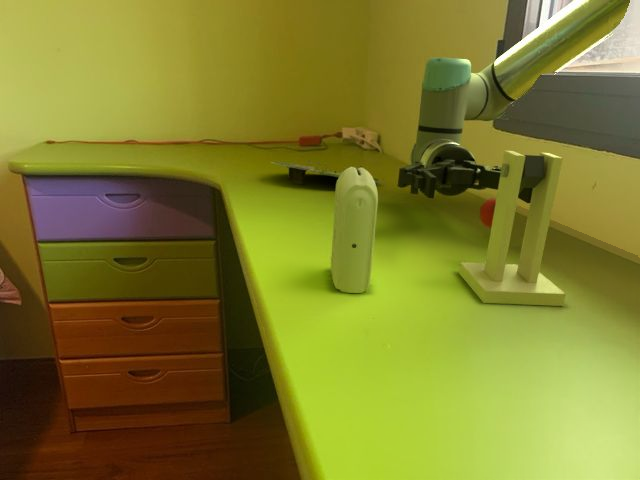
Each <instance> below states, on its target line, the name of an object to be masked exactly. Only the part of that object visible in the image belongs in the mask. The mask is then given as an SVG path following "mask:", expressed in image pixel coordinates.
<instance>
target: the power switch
mask: <svg viewBox="0 0 640 480" xmlns="http://www.w3.org/2000/svg"><path fill="white" fill-rule="evenodd" d="M524 155H525V154H522V153H518V152H517V151H514V150H504V151H503V157H502V164H501V174H500V180H499V186H498V190H497V193H496V197H495V198H496V204H495V210H494V215H493V221H492V227H491V228H490V234H489V240H488V246H487V251H486V257H485V262H470V261H469V262H468V261H467V262H466V261H460V263H459V267H458V274H459V276H461V278H462V279H463V280H464V282H466V284H467V285H468V286H469V287H470V289H471V290H472V291H473V292H474V294H475V295H476V296H477V297H478V298H479V299H480V301H481V302H482V303H483V304H501V305H502V304H504V305H525V306H547V307H548V306H549V307H551V306H552V307H556V306H557V307H563V306H564V304H565V300H566V296H567V295H566V292H564V291H563V290H562V289H561V288H559V287H558V286H557V285H556V284H554V283H553V282H552V281H551V280H549V279H548V278H547V277H546V276H544V275H543V274H542V273H541V272H540V270H541V265H542V259H543V255H544V250H545V246H546V240H547V235H548V230H549V227H550V221H551V216H552V212H553V207H554V202H555V198H556V192H557V188H558V182H559V178H560V173H561V170H562V169H561V168H562V164H563V159H564V158H563V157H561V156H558V155H555V154H552V153H550V152H539V155H538V156H544V178H543V180H542V181H541V182H540V183H539V184H538V185H537V186H536V187H535V188H533V191H532V197H531V202H530V203H529V207H528V212H527V218H526V223H525V227H524V233H523V234H524V235H523V238H522V245H521V249H520V254H519V258H518V263H517V264H513V263H507V258H508V253H509V247H510V242H511V238H512V237H511V235H512V231H513V227H514V220H515V215H516V209H517V205H518V200H519V198H518V194H519V189H520V183H521V178H522V172H523V167H524V161H525V156H524Z"/></svg>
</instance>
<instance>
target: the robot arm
mask: <svg viewBox="0 0 640 480" xmlns="http://www.w3.org/2000/svg"><path fill="white" fill-rule="evenodd" d="M629 3H630V0H572V1H571V2H570V3H569V4H568V5H567V6H565V7H564V8H562V9H561V10H559V11H558V12H557V13H555V15H553V16H552V17H551V18H550V19H548V20H547V21H545V22H544V23H543V24H541V25H540V26H539V27H538V28H536V29H535V30H534V31H532V32H530V34H528V35H526V36H525V37H524V38H523V39H522V40H521V41H519V42H518V43H516V44H515V45H514V46H512V47H511V48H510V49H508V50H507V51H506V52H504V53H503V54H502V55H500V56H499V57H498V58H497V59H496V60H494V61H493V62H491V63H490V64H489V65H488V66H486V67H485V68H483V69H482V70H481V71H479V72H472V63H471V61H470V60H469V59H465V58H455V57H436V56H435V57H434V56H433V57H430V58H429V59H428V60H427V61H426V63H425V68H424V73H423V79H422V81H421V95H420V102H419V103H420V105H419V114H418V125H417V130H416V140H415V143H414V145H413V146H412V148H411V151H410V157H409V159H410V164H409V165H405V166H402V167H400V168H399V169H398V178H397V187H398V188H401V189H404V188H407V187H409V186H410V191H409V192H410V193H409V194H410V195H419V191H420V192H421V194H423V195H424V196H425V197H426V198H427V199H433V200H434V199H435V191H436V192H437V193H438V194H440V195H442V196H446V197H455V196H459V195H461V194H463V193H465V192H466V191H468V190H469V189H471V190H472V189H473V190H478V191H482V190H486V189H490V190H491V189H492V190H497V191H498V186H499V180H500V174H501V167H502V166H501V167H500V166H499V165H494V166H492V167H491V168H490V166H489V165H486V164H480V163H477V161H476V159H475V157H474V155H473V153H472V152H471V151H470V150H469V149H468V148H466V147H465V146H462V145H461V141H462V134H463V129H464V122H465V121H482V122H491V121H494V120H497V119H500V117H501V116H502V115H503V114H504V113H505V110H506V108H507V106H509V105H510V104H512V103H513V102H514V103H515V102H516V101H517V100H519V99H520V98H521V96H522V95H523V94H524V95H526V94H527V93H528V92H527V91H528V90H529V89H530V88H531V87H532V86H533V84H534V83H535V81H536V80H537V78H538V77H539V76H540V75H542V74H546V73H553V72H557V73H558V72H559V71H562V70H563V69H564V68H565V67H567V66H568V65H570V64H571V63H573V62H574V61H576V60H577V59H579V58H580V57H582V56H583V55H584V54H586V53H588V52H589V51H590V50H591V49H593V48H594V47H596V46H598V45H599V44H600V43H602V42H603V41H605V40H606V39H607V38H606V37H607V36H609V34H611V33H612V31H613V30H614V29H615V28H616V27H617V26H618V25H619V24H620V22H621V20H622V19H623V18H624V16H625V13H626V12H627V8H628V6H629ZM609 37H610V36H609ZM605 38H606V39H605ZM604 39H605V40H604ZM526 92H527V93H526ZM525 93H526V94H525ZM524 95H523V96H524ZM523 96H522V97H523ZM518 98H519V99H518ZM501 118H502V117H501ZM532 191H533V188H523V190H522V191H521V192H520V193H519V194H518V200H521V201H522V202H524V203H526V204H530V202H531V197H532Z"/></svg>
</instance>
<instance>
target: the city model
mask: <svg viewBox="0 0 640 480" xmlns="http://www.w3.org/2000/svg"><path fill="white" fill-rule="evenodd" d="M269 163H271V164H273V165H274V164H275V165H279V166H283V167H285V168H287V169H288V180H289V181H293V183H294V184H298V185H303V183H304V178H305V176H306V173H307V171H309V172H313V173H317V174H320V175H323V176H330V177H333V178H339V176H340V175H341V173H342V172H343V171H345V170H346V165H344V166H343V169H342V172H337V171H336V170H335V171H333V170H332V171H331V169H330V170H326V169H324V170H323V169H320V170H319V169H318V167H319V166H317V167H316V168H315V166H314V167H313V166H309V164H310V165H312V162H311V160H307V163H306V165H304V164H303V165H301V164H296V163H287V162H280V161H275V162H271V161H270V162H269ZM327 163H328V162H325V164H324V165H323V167H325V168H329V167H328V166H327ZM316 164H320V161H317V163H316ZM358 168H363V167H362V166H361V165H360V166H359V167H358ZM372 177H373V176H372ZM373 179H374V182H375V184H377V185H380V184H381V180H379V179H378V178H376V177H373ZM383 181H384V179H383Z"/></svg>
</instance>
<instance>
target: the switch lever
mask: <svg viewBox="0 0 640 480" xmlns="http://www.w3.org/2000/svg"><path fill="white" fill-rule="evenodd" d="M523 155H524V156H525V161H524V167H523V172H522V178H521V183H520V189H519V193H520V192H521V191H522V190H523V188H535V187H536V186H537V185H538V184H539V183H540V182H541V181H542V180H543V178H544V156H539V155H533V154H523ZM496 198H497V197H492V198H489V199H487V200H485V201H484V202H483V203H482V205H480V208H479V213H478V214H479V220H480V222H481V224H482V225H483V226H484V227H487V228H489V229H491V227H492V221H493V215H494V210H495V204H496Z"/></svg>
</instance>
